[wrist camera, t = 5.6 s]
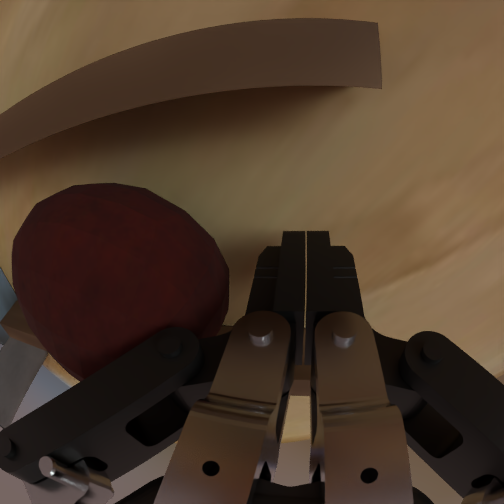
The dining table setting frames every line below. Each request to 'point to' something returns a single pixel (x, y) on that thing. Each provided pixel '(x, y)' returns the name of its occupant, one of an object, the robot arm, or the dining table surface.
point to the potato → (114, 273)
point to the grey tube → (16, 375)
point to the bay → (192, 94)
